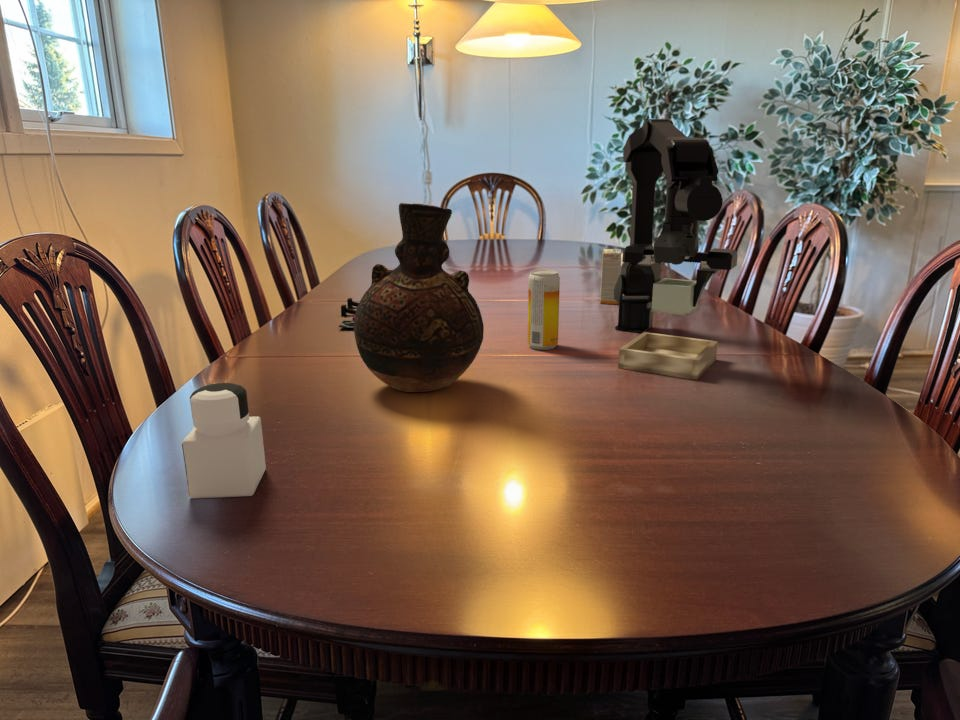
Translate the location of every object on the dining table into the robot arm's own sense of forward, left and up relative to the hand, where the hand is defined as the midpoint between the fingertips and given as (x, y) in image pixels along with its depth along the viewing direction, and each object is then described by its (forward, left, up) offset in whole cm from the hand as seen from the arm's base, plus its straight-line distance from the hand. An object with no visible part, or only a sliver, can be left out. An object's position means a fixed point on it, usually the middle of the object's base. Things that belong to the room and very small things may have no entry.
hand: (675, 304), depth 122 cm
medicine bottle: (-31, -73, -11) cm, 81 cm away
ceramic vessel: (-32, -33, -11) cm, 48 cm away
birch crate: (0, 0, -11) cm, 11 cm away
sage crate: (0, 0, -1) cm, 1 cm away
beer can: (-25, -1, -11) cm, 28 cm away
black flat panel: (-73, +4, -12) cm, 74 cm away
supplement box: (-29, +47, -11) cm, 56 cm away
